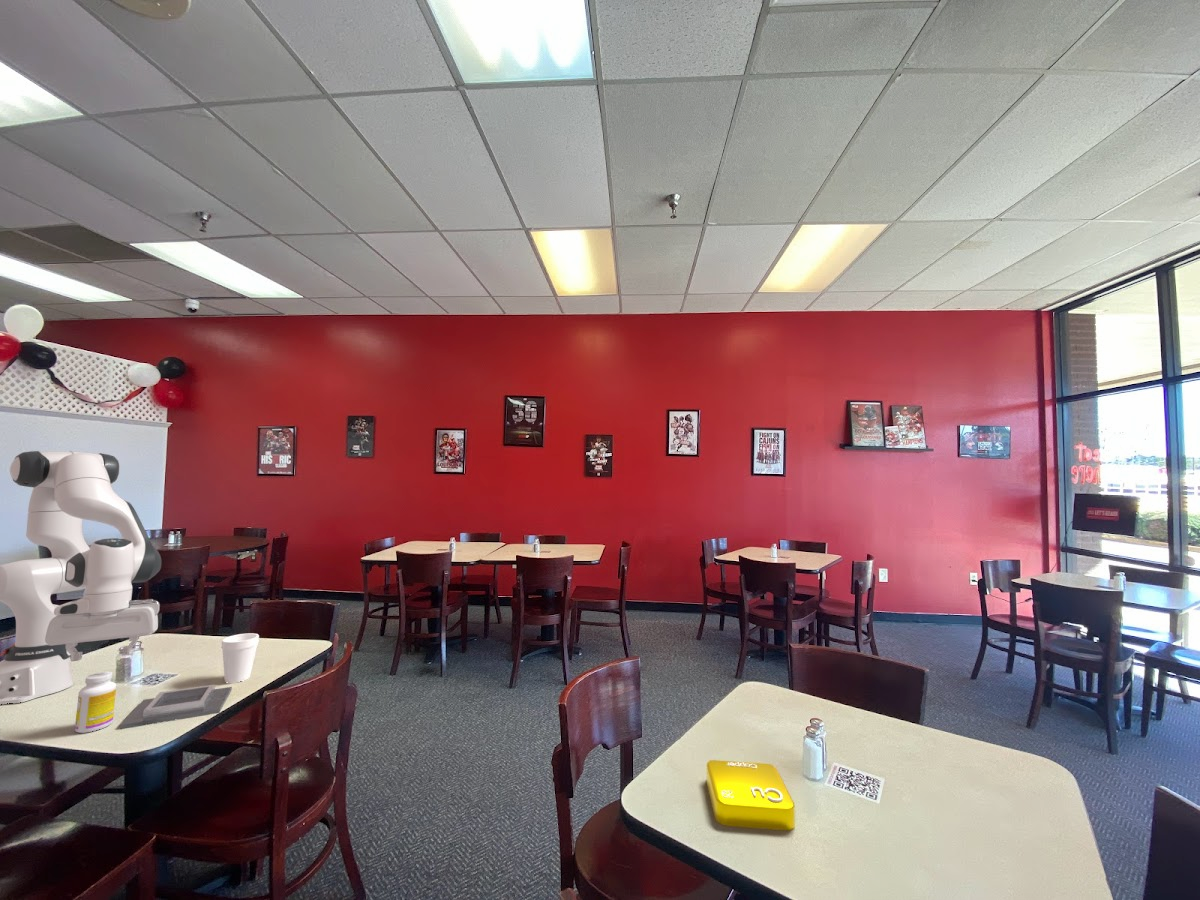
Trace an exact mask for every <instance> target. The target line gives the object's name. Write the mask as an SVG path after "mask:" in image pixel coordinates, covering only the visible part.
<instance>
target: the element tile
mask: <svg viewBox="0 0 1200 900" xmlns="http://www.w3.org/2000/svg"><path fill="white" fill-rule="evenodd" d="M706 787H707V791H708V795H709V798H710V803H711V807H712V811H713V815H714V819H715V820H716V822H717V823H719V824H720V825H723V826H725V827H726V826H727V827H737V828H750V829H760V830H761V829H764V830H777V831H792V830H794V829H795V828H796V816H795V815H796V813H795V812H796V808H795V802H794V800H793V798H792V796H791V794H790V792H789V790H788V788H787V787H786V784H785V782H784V780H783V777H782V776H781V774H780V772H779V771H778V769H777V768H776V767H775V766H774V765H773V764H770V763H765V762H747V761H734V760H732V761H731V760H719V759H717V760H716V759H712V760H708V761H707V763H706Z"/></svg>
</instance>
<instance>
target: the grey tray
mask: <svg viewBox="0 0 1200 900" xmlns="http://www.w3.org/2000/svg"><path fill="white" fill-rule="evenodd" d="M232 690H233V687H232V686H229V687H228V686H227V687H222V688H216V684H209V685H202V686H196V687H189V688H188V687H187V688H182V689H181V688H180V689H174V690H173V689H172V690H166V691H160V692H158V694H156V696H155V697H153V698H145V699H143V700H142V701H141V702H140V703H139V704H138V705H137V706H136V707H135V709H133V711H132V712H131V713H130V714H129V715H128V716H126V718H125V719H124V720H123V721H122V722H121V723H120V724H119V730H122V728H123V729H129V728H135V727H141V726H146V724H147V725H151V724H152V723H154V724H158V723H157V722H160V723H164V722H163V721H166V722H170V720H172V721H176V720H175V719H178V720H182V719H188V718H196V717H200V716H208V715H212V714H219V713H221V710H222V709H223V707H224V705H225V703H226V701H227V700H228V698H229V696H230V695H231V692H232Z"/></svg>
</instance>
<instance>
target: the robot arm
mask: <svg viewBox="0 0 1200 900" xmlns="http://www.w3.org/2000/svg"><path fill="white" fill-rule="evenodd" d="M120 470H121V467H120V462H119V460H118V459H117V458H116V457H115V456H113V455H111V454H107V453H102V452H101V453H99V452H98V453H94V452H87V451H86V452H84V451H72V450H70V451H40V450H39V451H38V450H32V451H24V452H21V453H19V454H17V455H16V456H15V457H14V459H13V460H12V462H11V464H10V467H9V473H10V476H11V479H12V481H13V482H14V483H15V484H16V485H18V486H21V487H27V488H32V491H31V494H30V497H29V503H28V510H27V520H26V522H27V523H26V532H25V533H26V538H27V539H28V540H29V541H30V542H31V543H33V544H35V545H38V546H41V547H44V548H47V549H48V550H49V551H50V553H51V557H46V558H44V557H43V558H42V557H41V558H35V559H34V558H32V559H25V560H23V559H21V560H18V561H13V562H8V563H3V564H0V602H1V603H3V604H4V605H6V606H7V607H8V608H9V609H10V610H11V611H12V613H13V615H14V618H15V640H14V643H12V644H11V645H10V646H8V647H6V648H5V649H4V650H3V651H1V652H0V653H1V654H0V656H3V660H1V661H0V705H1V704H2V705H10V704H9V703H13V704H20V702H21V703H24V702H28V701H30V700H34V699H36V698H40V697H44V696H48V695H51V694H54V693H57V692H60V691H63V690H66V689H68V688H70V687H72V686H73V685H74V684H75V682H74V681H75V680H74V678H73V673H72V668H71V667H72V666H71V662H77V661H78V662H79V661H82V658H83V651H78V650H77V648H76V647H77V646H78V643H87V642H88V643H89V642H97V641H106V640H107V641H108V640H117V639H124V638H125V639H126V638H128V642H130V643H129V645H128V646H124V648H122V650H121V651H122V653H121V656H129V655H131V654H132V653H133V647H134V646H135V644H136V643H137V642H138V640H140V637H143V636H144V637H145V636H151V635H152V634H154V633H155V632H157V630H158V628H159V617H158V615H159V612H160V607H161V604H160V602H159V601H158V600H156V599H153V598H147V599H133V600H132V596H133V585H132V584H135V583H136V584H137V583H146V582H148V581H149V580H151V579H152V578H153V577H155V576H156V575H157V574H158V573H159V572H160V571H161V568H162V557H161V554H160V553H159V551H158V549H157V548H156V547H155V546H154V544H153V543H152V541H151V539H150V537H149V536H148V533H147V531H146V529H145V527H144V525H143V523H142V521H141V519H140V517H139V515H138V513H137V511H136V510H135V508H134V507H133V505H132V503H131V502H129V501H126V500H125V499H122V498H121V497H120V496H119V495H118V494H117V493H116V492H115V491H114V489H113V488H112V484H113V483H115V482H116V481H117V479H118V477H119V475H120ZM83 520H84V521H92V522H96V523H101V524H106V525H109V526H110V527H111V526H112V527H113V528H115V529H117V531H118V532H119V533H120V535H121V537H122V538H115V537H113V538H102V539H99V540H96V541H93V542H92V543H91V545H90V546H89V545H88V544H87V542H86V540H85V537H84V533H83ZM83 590H84V591H83ZM74 591H83V596H82V598H77V599H74V600H72V601H68V602H65V603H63V604H60V605H59V604H53V603H52V600H51V596H52V595H55V594H63V593H68V592H74ZM7 703H8V704H7Z"/></svg>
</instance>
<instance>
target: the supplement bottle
mask: <svg viewBox="0 0 1200 900" xmlns="http://www.w3.org/2000/svg"><path fill="white" fill-rule="evenodd" d="M112 678H113V672H112V671H102V672H96V673H92V674H89V675H87V676H86V677H85V685H86V686H84V687H82V688H81V689H80V690H79V692H78V694H77V695H78V696H77V707H76V714H75V723H74V725H75V726H74V731H75V732H76V733H79V734H86V733H92V731H93V732H96V730H97V731H99V729H100V730H102V729H104V728H106V727H109V726H110V725H111V724H112V723H113V721H114V714H115V703H116V693H117V684H116V683H115V682H114V681H111V680H112Z"/></svg>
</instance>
